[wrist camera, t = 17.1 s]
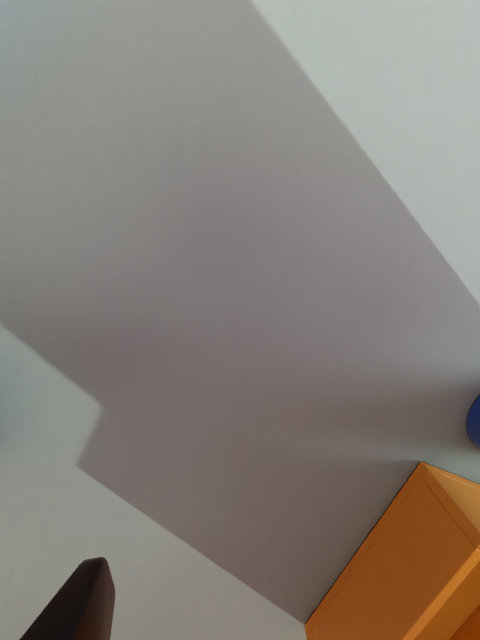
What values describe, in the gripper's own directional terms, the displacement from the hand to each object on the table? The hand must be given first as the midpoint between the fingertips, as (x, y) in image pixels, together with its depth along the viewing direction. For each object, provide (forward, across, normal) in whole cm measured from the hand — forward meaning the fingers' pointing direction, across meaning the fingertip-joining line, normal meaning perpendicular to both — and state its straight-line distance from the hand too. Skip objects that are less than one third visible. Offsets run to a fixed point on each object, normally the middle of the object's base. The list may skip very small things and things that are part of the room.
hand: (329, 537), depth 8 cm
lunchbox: (+13, -10, +20) cm, 26 cm away
